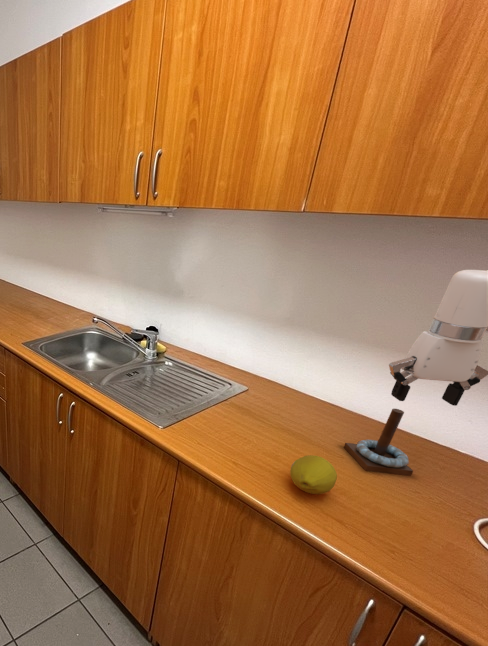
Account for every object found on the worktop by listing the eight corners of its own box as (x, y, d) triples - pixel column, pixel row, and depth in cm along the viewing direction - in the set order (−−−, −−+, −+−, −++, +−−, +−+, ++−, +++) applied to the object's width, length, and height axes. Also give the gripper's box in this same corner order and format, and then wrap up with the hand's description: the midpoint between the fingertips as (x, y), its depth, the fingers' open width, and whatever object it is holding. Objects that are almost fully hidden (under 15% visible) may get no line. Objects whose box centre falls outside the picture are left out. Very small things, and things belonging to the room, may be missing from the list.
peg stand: (384, 451, 100) (407, 402, 94) (410, 476, 92) (437, 423, 86) (343, 447, 102) (363, 399, 96) (365, 470, 94) (388, 419, 88)
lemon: (300, 470, 94) (310, 443, 91) (339, 491, 88) (351, 462, 85) (274, 486, 90) (284, 458, 87) (313, 509, 83) (325, 480, 80)
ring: (389, 447, 99) (392, 440, 99) (417, 471, 91) (420, 464, 90) (347, 442, 101) (349, 436, 101) (370, 466, 93) (373, 459, 92)
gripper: (490, 326, 84) (455, 395, 91) (394, 321, 88) (367, 388, 95) (526, 339, 78) (484, 413, 84) (420, 333, 81) (388, 405, 88)
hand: (422, 400), depth 89 cm, fingers open, 9 cm apart
